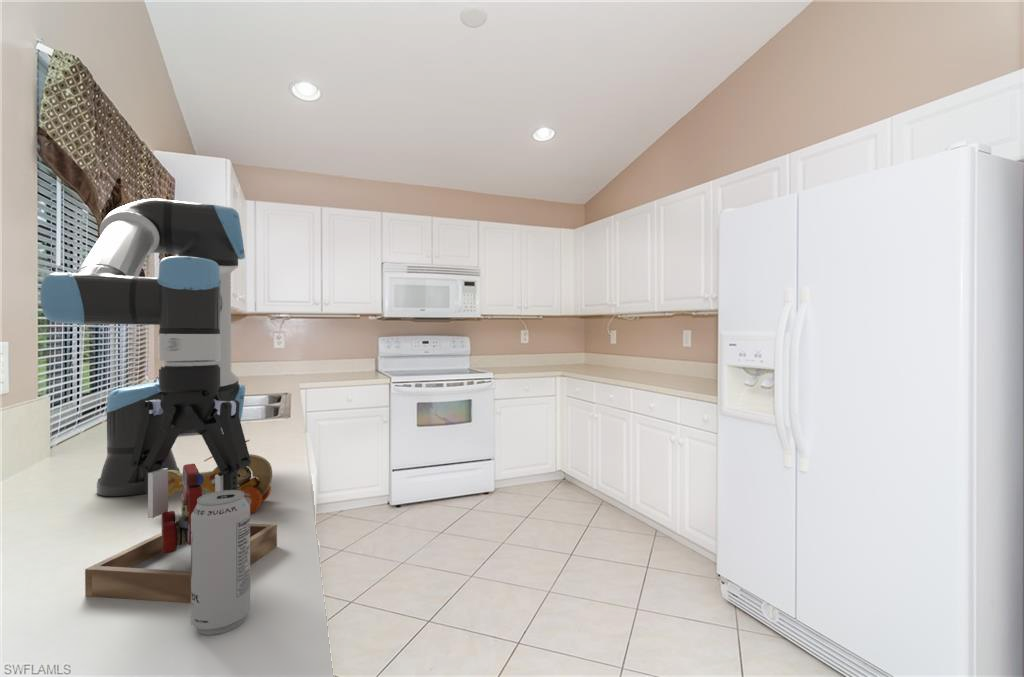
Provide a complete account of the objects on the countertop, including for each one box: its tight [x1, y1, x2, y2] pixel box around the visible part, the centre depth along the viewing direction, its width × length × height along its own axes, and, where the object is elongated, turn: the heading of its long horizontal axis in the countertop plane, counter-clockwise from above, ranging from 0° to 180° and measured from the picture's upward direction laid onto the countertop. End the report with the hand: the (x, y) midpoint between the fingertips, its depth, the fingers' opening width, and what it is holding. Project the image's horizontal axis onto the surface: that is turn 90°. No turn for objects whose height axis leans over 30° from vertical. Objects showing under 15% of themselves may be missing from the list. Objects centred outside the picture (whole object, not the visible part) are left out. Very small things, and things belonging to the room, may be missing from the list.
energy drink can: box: [190, 490, 251, 636], centre depth 58 cm, size 6×6×15 cm
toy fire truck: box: [161, 463, 204, 554], centre depth 71 cm, size 7×12×10 cm, turn 37°
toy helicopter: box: [168, 439, 273, 514], centre depth 96 cm, size 8×21×14 cm, turn 102°
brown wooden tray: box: [84, 522, 278, 604], centre depth 71 cm, size 17×16×4 cm
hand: (190, 516), depth 71 cm, fingers closed on toy fire truck, 10 cm apart
